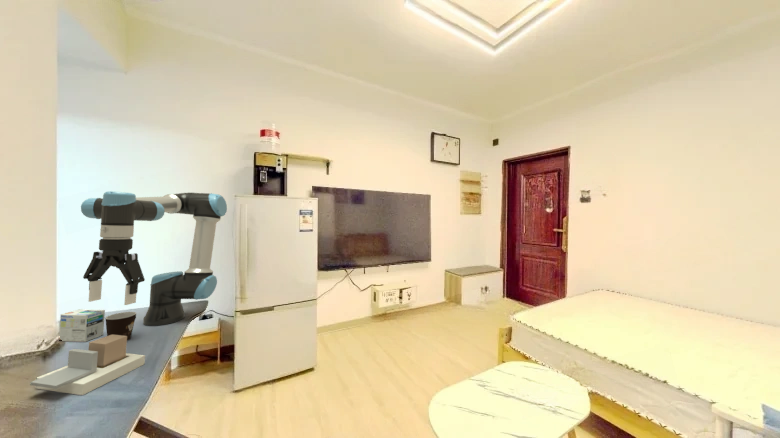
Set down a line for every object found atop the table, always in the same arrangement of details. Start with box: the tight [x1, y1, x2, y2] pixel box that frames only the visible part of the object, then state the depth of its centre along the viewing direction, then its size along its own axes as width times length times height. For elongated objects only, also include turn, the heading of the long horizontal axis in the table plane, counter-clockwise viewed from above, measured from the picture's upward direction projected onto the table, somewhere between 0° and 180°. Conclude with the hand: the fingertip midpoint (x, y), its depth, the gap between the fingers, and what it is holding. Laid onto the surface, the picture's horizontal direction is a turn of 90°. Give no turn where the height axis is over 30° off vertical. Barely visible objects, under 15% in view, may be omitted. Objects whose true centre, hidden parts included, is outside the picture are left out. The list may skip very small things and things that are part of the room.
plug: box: [87, 334, 128, 368], centre depth 82 cm, size 6×6×10 cm
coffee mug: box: [104, 311, 137, 342], centre depth 103 cm, size 12×9×10 cm
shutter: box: [29, 348, 98, 389], centre depth 72 cm, size 8×8×6 cm
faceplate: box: [34, 352, 146, 396], centre depth 79 cm, size 16×16×3 cm
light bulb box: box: [58, 308, 106, 343], centre depth 102 cm, size 11×7×11 cm, turn 92°
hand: (112, 302), depth 83 cm, fingers open, 13 cm apart
